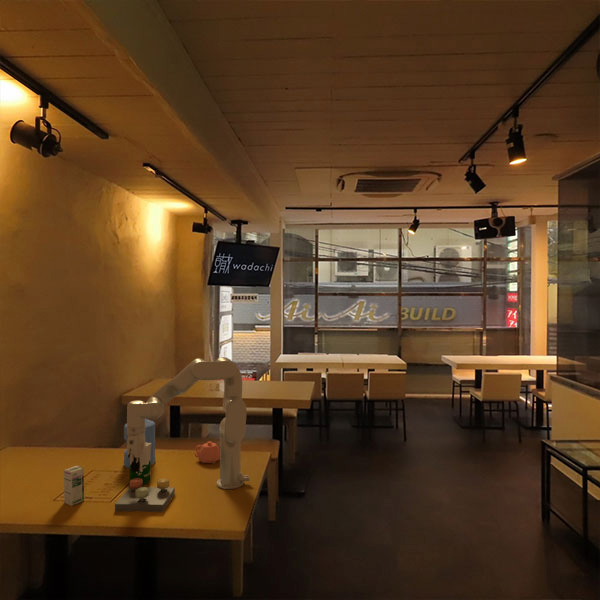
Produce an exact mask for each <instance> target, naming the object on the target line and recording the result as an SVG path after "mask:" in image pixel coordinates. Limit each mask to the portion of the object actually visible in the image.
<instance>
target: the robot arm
mask: <svg viewBox="0 0 600 600" xmlns="http://www.w3.org/2000/svg"><path fill="white" fill-rule="evenodd" d="M221 380H223V399H222V408H223V411H224V412H225V417H223V419H222V420H221V421H220V423H219V427H218V429H219V443H220V444H219V449H220V459H219V467H220V468H219V469H220V470H219V476H220V477H219V479H217V481H216V486H217V488H219V489H223V490H224V489H225V490H233V489H238V488H241V487H242V486H243V485H244V483H245V482H250V480H251V479H250V476H249V475H248V474H246V475H245V474H244V475H243V472H242V471H241V450H242V449H241V447H242V446H241V442H242V440H243V439H244V437H245V434H246V426H247V425H246V423H247V405H246V403H245V401H244V400H243V376H242V373H241V370H240V369H239V367H238V366H237V364H236V363H235V362H234V361H233V360H232V359H230V358H228V357H225V356H219V357H218V358H217V359H216V360H214V361H210V360H205V359H203V358H195V359H193V360H192V361H191V362H190V363H189V364H188V365H186V366H185V367H184V368H183V369H182V370H181V371H180V372H179V373H178V374H176V375H175V376H174V377H173V378H172V379H171V380H169V381H167V383H165V384H164V385H162V386H161V387H160V388H159V389H158V390H156V391H155V392H154V393H153V394H152V395H150V397H149V398H148V399H147V401H146V402H145V401H143V400H132V401H129V402H128V403H127V406H126V424H127V435H128V442H127V441H126V449H127V457H128V458H130V462H131V471H132V472H138V471H139V470H140V456H141V455H142V454H143V453H144V452H145V450H146V444H145V419H149V420H151V419H152V420H153V419H154V420H155V419H158V418H159V419H160V417H162V416H163V414H164V411H165V410H164V408H165V406H166V405H167V404H168V403H169V402H170V401H171V400H173V399H174V398H175V397H178V396H180V395H183V394H185V393H187V392H188V391H189V390H190V389H191V388H192V387H193V386H194V385H195V384H196V383H197V382H198V381H221Z"/></svg>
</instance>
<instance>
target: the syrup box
mask: <svg viewBox="0 0 600 600" xmlns="http://www.w3.org/2000/svg"><path fill="white" fill-rule="evenodd" d="M84 475H85V472H84V467H82V466H80V465H74V466H72V467H69V468H67V469H64V470H63V498H64V499H63V500H64V503H65V504H66V505H69V506H70V505H71V507H74V505H77V504H79V503H82V502H84V501H85V476H84Z"/></svg>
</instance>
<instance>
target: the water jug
mask: <svg viewBox="0 0 600 600" xmlns="http://www.w3.org/2000/svg"><path fill="white" fill-rule="evenodd" d="M123 439H124V440H125V442H126V443H127V442H128V435H127V423H125V424H124V426H123ZM145 442H147V443H152V444H151V453H150V466H152V465H154V463H156V423H155V421H154V420H151V419H149V418H145ZM123 465H124V467H125V468H127V469H130V458H128V457H127V448H126V449H125V450H124V451H123Z"/></svg>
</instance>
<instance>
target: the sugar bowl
mask: <svg viewBox="0 0 600 600" xmlns="http://www.w3.org/2000/svg"><path fill="white" fill-rule="evenodd" d="M198 448H199V450H198ZM195 451H196V453H195V454H194V457H196V458H197V459H198V460H199V462H201V463H202V464H215V463H216V462H219V461H220V446H218V444H217V443H215V442H212V441H207V442H206V443H203V444H198V445H196V447H195Z"/></svg>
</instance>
